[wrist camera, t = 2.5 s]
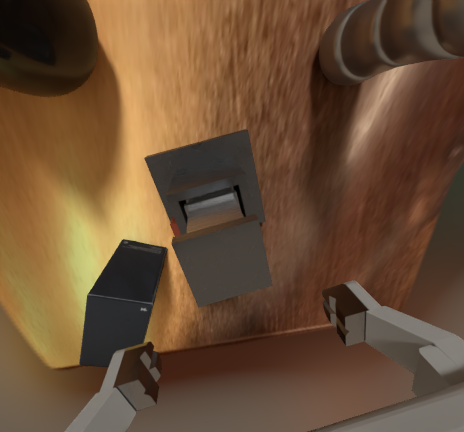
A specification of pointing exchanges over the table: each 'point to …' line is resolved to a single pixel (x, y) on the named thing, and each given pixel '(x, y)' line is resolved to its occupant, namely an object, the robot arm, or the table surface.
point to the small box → (121, 302)
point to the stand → (206, 175)
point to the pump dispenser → (46, 46)
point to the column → (221, 248)
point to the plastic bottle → (390, 37)
